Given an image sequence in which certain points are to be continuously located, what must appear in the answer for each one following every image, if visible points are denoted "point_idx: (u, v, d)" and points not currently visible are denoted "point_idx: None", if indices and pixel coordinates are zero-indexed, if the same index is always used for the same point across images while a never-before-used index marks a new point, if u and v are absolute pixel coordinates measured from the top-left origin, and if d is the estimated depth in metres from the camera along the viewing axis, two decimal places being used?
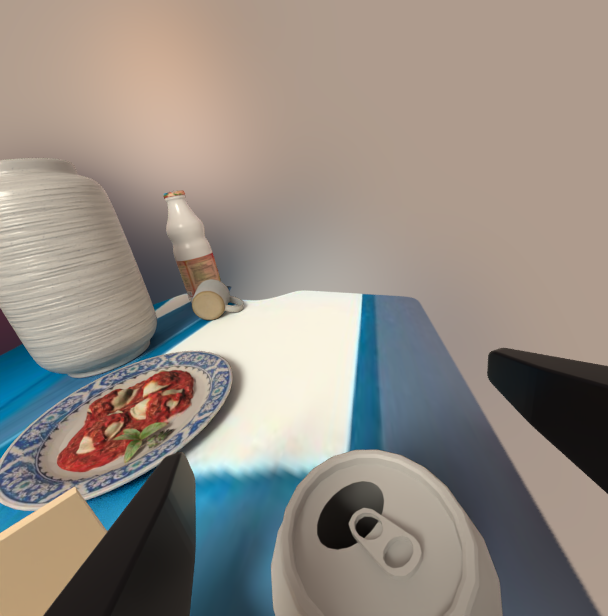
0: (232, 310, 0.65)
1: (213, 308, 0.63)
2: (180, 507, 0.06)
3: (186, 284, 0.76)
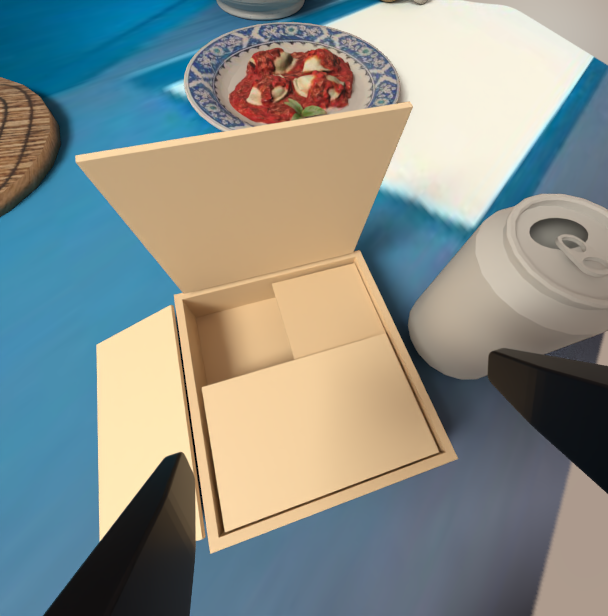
0: None
1: None
2: (180, 507, 0.06)
3: None
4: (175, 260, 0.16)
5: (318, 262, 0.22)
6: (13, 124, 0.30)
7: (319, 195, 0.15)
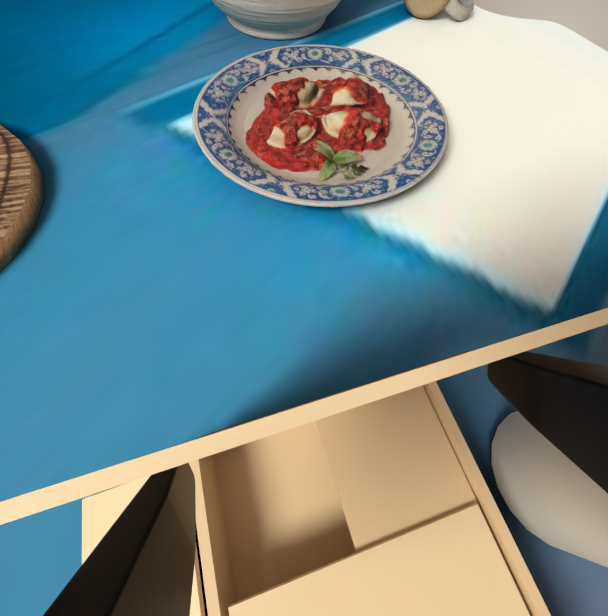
0: (455, 14, 0.42)
1: None
2: (180, 507, 0.06)
3: None
4: None
5: None
6: None
7: None
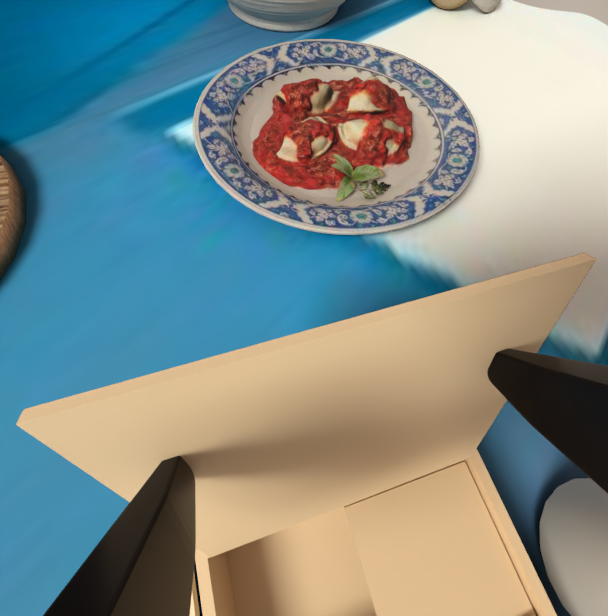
0: (482, 5, 0.38)
1: None
2: (180, 507, 0.06)
3: None
4: (198, 521, 0.10)
5: None
6: None
7: (435, 397, 0.09)
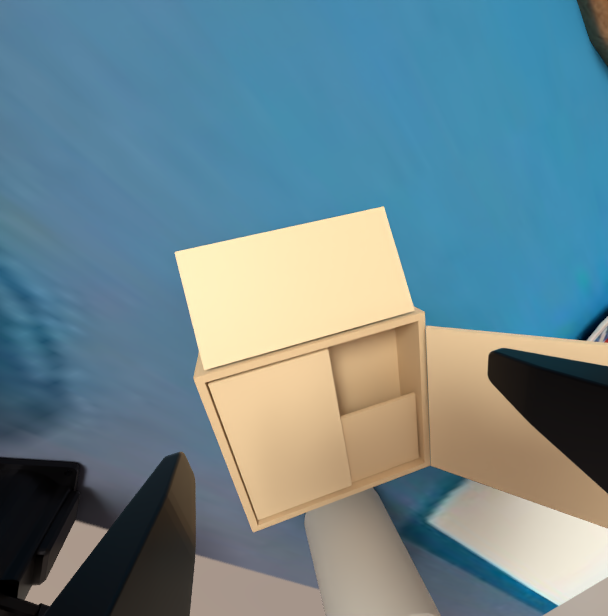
0: None
1: None
2: (180, 507, 0.06)
3: None
4: None
5: (426, 434, 0.23)
6: None
7: (549, 468, 0.18)
